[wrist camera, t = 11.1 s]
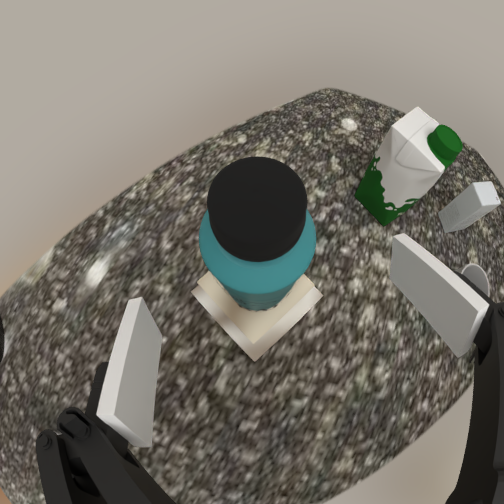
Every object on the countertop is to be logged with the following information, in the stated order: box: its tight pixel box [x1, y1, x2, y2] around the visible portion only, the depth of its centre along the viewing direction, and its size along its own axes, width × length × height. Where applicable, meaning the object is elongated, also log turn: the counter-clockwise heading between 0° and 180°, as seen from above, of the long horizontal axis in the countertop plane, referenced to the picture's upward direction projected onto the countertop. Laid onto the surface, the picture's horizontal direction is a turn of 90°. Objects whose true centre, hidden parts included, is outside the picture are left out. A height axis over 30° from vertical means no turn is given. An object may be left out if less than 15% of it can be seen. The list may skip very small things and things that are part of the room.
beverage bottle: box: [199, 157, 316, 312], centre depth 20 cm, size 6×7×20 cm
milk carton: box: [354, 106, 463, 227], centre depth 33 cm, size 9×9×20 cm
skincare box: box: [438, 181, 501, 233], centre depth 35 cm, size 6×4×12 cm
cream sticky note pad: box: [191, 271, 323, 362], centre depth 34 cm, size 13×13×10 cm
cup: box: [452, 263, 489, 297], centre depth 33 cm, size 7×10×9 cm
